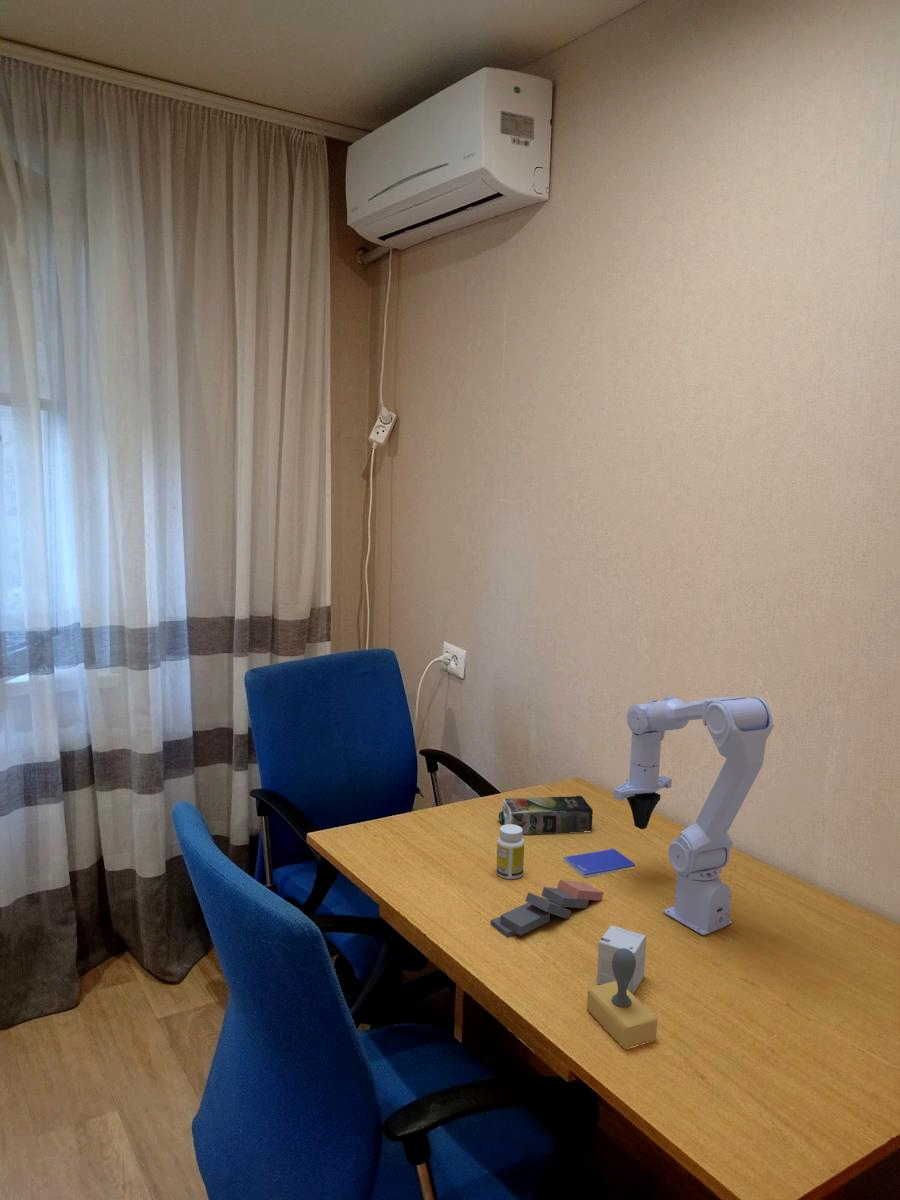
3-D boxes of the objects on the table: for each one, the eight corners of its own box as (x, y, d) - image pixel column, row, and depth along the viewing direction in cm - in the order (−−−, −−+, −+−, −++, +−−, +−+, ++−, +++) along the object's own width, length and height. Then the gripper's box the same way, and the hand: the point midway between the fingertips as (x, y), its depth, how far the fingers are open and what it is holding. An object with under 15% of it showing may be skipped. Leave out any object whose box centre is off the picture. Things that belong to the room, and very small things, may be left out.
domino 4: (569, 889, 162) (543, 887, 157) (588, 900, 158) (563, 898, 153) (566, 897, 161) (541, 895, 157) (586, 908, 158) (561, 906, 153)
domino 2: (529, 901, 154) (500, 915, 150) (549, 912, 151) (521, 926, 146) (529, 909, 155) (500, 923, 150) (549, 921, 151) (520, 935, 146)
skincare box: (644, 977, 137) (647, 934, 135) (632, 996, 131) (635, 952, 130) (608, 965, 140) (611, 923, 139) (595, 983, 134) (598, 940, 133)
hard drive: (584, 873, 169) (635, 864, 174) (563, 856, 177) (613, 847, 182) (584, 880, 170) (635, 871, 174) (563, 863, 177) (612, 854, 182)
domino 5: (584, 882, 165) (559, 879, 160) (603, 892, 161) (579, 890, 156) (581, 890, 164) (557, 887, 160) (601, 900, 161) (576, 898, 156)
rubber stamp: (585, 1009, 128) (589, 936, 126) (617, 1001, 130) (621, 929, 128) (624, 1051, 119) (629, 972, 117) (657, 1041, 121) (662, 964, 119)
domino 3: (549, 900, 157) (528, 892, 152) (571, 910, 154) (550, 903, 149) (546, 908, 157) (525, 900, 152) (568, 919, 154) (546, 912, 149)
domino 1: (523, 908, 155) (490, 919, 151) (541, 921, 151) (507, 932, 147) (523, 917, 155) (490, 928, 151) (540, 929, 151) (507, 941, 147)
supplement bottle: (523, 868, 173) (525, 824, 171) (522, 880, 168) (525, 835, 166) (496, 866, 173) (498, 822, 172) (495, 878, 168) (497, 833, 167)
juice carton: (505, 837, 188) (507, 811, 187) (496, 820, 197) (498, 794, 197) (592, 835, 191) (594, 809, 190) (579, 818, 201) (580, 793, 200)
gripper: (655, 750, 175) (650, 812, 177) (604, 762, 167) (600, 827, 169) (681, 760, 169) (676, 824, 171) (630, 773, 161) (625, 840, 163)
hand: (640, 827), depth 170 cm, fingers closed
